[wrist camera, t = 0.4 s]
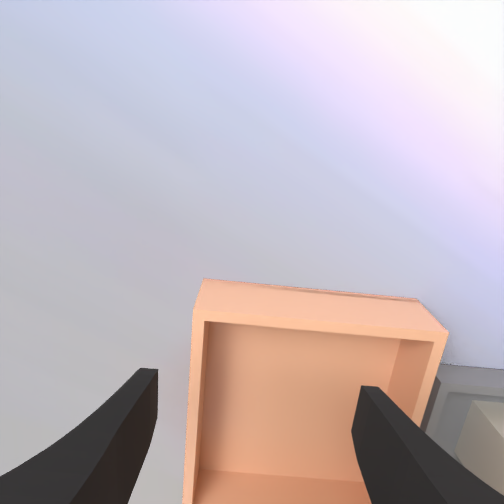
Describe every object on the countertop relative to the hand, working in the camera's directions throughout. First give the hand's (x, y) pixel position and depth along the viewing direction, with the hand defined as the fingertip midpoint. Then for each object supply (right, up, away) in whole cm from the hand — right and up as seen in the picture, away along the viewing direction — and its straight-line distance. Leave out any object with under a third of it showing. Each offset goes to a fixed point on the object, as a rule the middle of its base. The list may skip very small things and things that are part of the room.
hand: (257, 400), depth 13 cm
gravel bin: (+3, -4, +12) cm, 13 cm away
